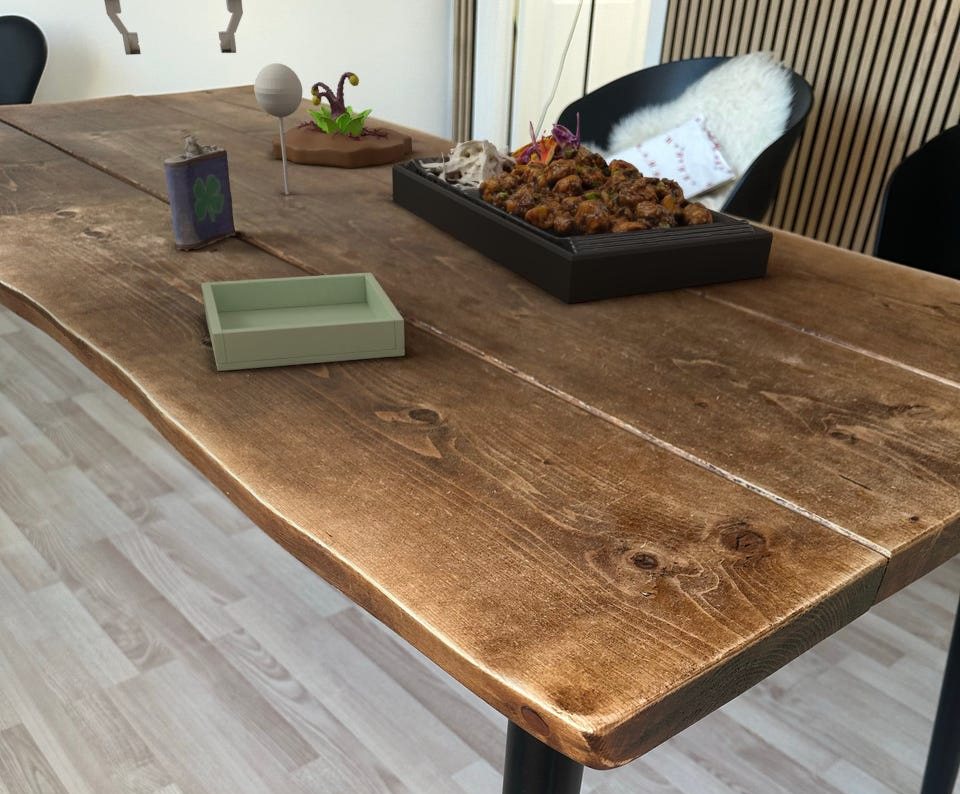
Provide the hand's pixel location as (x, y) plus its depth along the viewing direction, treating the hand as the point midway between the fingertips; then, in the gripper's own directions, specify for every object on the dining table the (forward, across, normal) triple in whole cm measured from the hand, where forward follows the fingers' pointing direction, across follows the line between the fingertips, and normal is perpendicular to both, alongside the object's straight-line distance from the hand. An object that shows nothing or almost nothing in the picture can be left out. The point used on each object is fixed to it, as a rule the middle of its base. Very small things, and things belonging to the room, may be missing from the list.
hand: (181, 53), depth 98 cm
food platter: (+19, +40, -6) cm, 45 cm away
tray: (+18, +6, -33) cm, 38 cm away
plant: (+19, +24, +46) cm, 55 cm away
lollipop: (+19, +12, +21) cm, 30 cm away
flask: (+18, 0, 0) cm, 18 cm away
